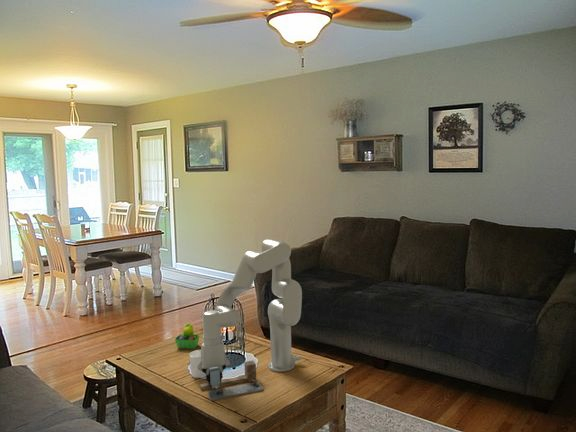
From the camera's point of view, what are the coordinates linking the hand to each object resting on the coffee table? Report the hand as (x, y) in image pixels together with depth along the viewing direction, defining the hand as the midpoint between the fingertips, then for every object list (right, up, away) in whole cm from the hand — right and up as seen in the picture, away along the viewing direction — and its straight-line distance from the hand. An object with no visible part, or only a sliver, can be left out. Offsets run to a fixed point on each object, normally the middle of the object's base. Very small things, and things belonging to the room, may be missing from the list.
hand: (214, 381), depth 203 cm
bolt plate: (+10, -3, -5) cm, 11 cm away
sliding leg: (0, -2, -1) cm, 2 cm away
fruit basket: (-21, +2, +46) cm, 50 cm away
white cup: (-9, -1, +12) cm, 15 cm away
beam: (+6, -2, +1) cm, 7 cm away
